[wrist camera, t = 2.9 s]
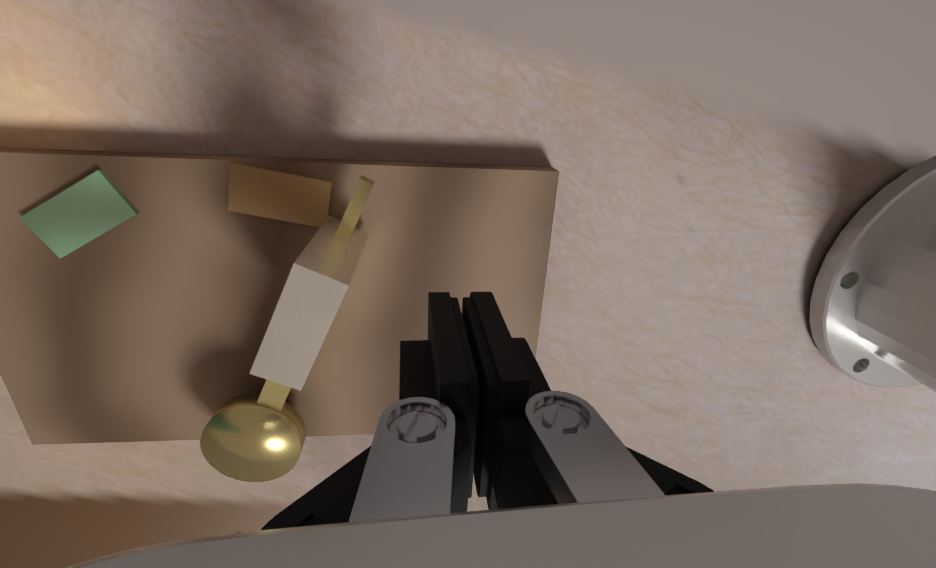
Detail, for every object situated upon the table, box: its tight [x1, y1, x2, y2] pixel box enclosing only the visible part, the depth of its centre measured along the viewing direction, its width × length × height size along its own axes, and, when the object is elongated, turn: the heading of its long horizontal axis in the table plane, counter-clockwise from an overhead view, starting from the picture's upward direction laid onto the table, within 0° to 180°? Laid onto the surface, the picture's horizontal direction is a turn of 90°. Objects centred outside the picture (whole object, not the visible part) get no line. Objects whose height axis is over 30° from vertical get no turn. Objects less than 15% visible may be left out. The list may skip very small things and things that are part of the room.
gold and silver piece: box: [200, 175, 375, 482], centre depth 16 cm, size 14×4×5 cm, turn 152°
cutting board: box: [0, 148, 559, 445], centre depth 19 cm, size 23×13×2 cm, turn 87°
